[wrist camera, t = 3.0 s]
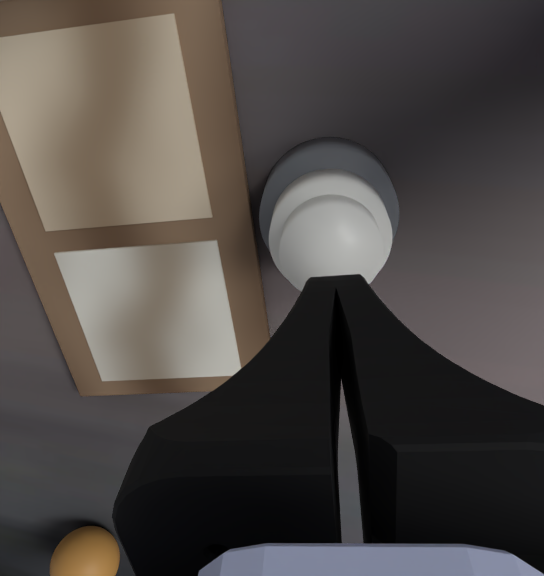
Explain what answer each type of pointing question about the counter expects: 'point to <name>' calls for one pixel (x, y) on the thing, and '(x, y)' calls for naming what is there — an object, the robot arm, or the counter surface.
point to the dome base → (326, 157)
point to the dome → (329, 228)
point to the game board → (131, 190)
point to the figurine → (86, 554)
